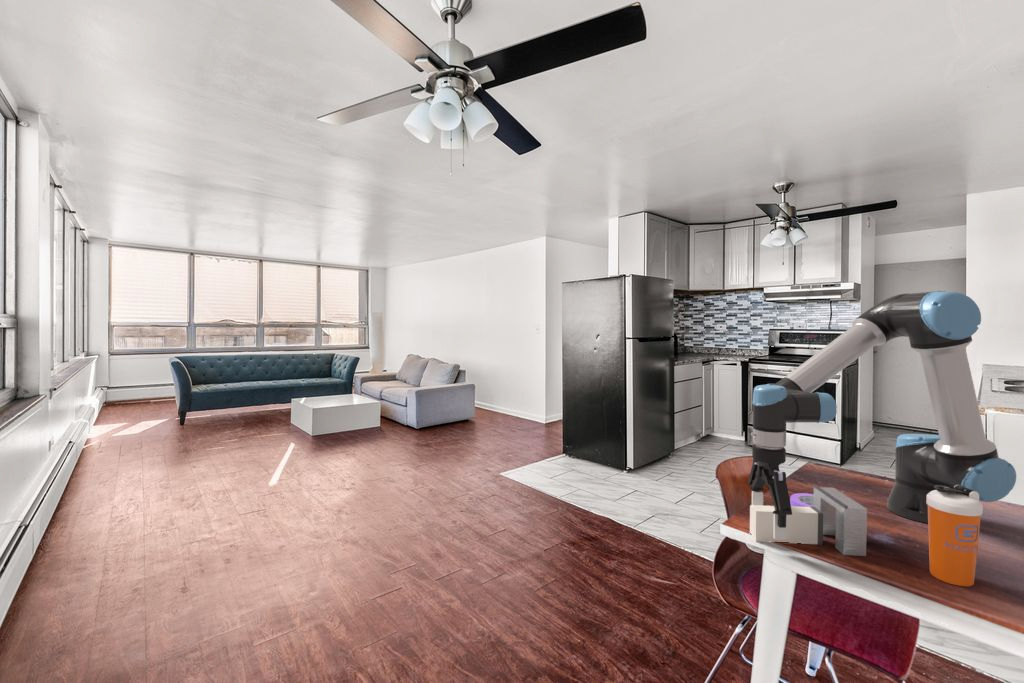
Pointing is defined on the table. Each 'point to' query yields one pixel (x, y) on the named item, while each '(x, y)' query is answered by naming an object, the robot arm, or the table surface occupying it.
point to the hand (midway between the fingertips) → (767, 526)
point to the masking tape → (802, 500)
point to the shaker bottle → (953, 533)
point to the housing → (842, 520)
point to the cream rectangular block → (788, 525)
